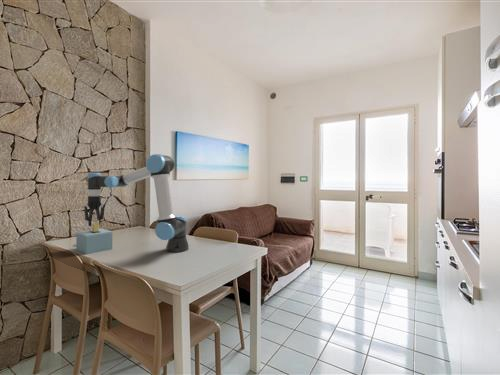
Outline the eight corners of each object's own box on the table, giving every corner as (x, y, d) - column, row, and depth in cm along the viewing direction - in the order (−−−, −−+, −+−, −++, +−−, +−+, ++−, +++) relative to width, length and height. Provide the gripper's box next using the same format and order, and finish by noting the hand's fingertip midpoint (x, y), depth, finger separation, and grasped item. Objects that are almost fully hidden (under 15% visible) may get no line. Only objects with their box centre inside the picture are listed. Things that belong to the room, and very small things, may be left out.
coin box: (112, 248, 178) (112, 231, 177) (86, 254, 165) (86, 235, 164) (101, 244, 187) (101, 228, 187) (76, 249, 174) (76, 231, 174)
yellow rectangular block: (98, 231, 175) (98, 222, 175) (93, 232, 173) (93, 223, 173) (94, 230, 179) (94, 221, 178) (90, 231, 176) (89, 222, 176)
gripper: (104, 194, 183) (104, 227, 184) (78, 195, 170) (78, 231, 171) (109, 195, 179) (109, 229, 180) (83, 196, 166) (83, 233, 167)
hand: (94, 230), depth 176 cm, fingers open, 3 cm apart
